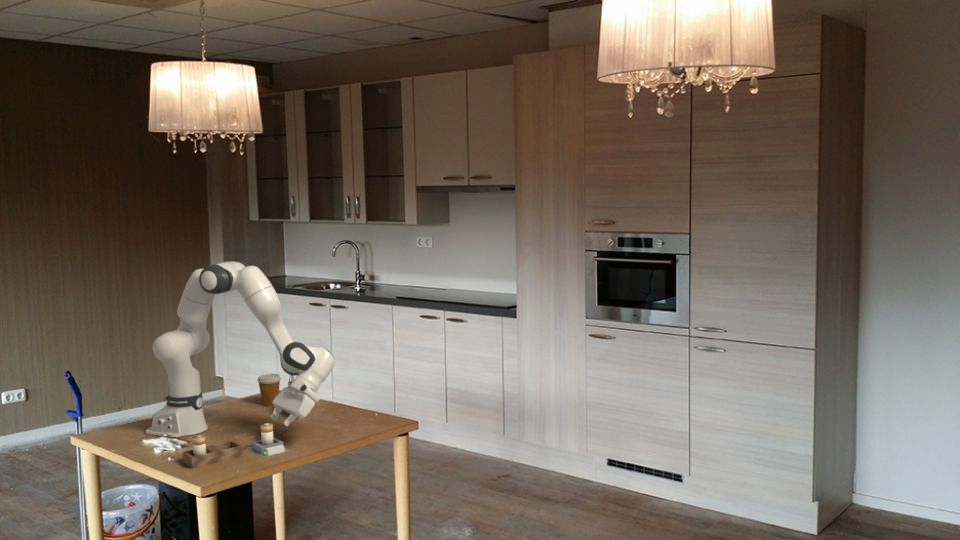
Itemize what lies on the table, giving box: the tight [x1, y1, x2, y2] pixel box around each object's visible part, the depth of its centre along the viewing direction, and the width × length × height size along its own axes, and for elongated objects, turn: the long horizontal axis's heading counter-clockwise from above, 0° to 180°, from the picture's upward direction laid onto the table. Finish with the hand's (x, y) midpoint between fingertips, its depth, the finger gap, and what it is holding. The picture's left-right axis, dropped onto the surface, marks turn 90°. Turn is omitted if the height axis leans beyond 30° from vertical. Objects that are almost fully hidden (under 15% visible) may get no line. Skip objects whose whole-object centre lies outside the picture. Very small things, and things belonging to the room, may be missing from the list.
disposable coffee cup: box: [256, 373, 282, 407], centre depth 353 cm, size 10×10×12 cm
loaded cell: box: [192, 434, 207, 456], centre depth 278 cm, size 4×4×9 cm
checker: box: [246, 436, 291, 458], centre depth 290 cm, size 10×14×4 cm
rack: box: [182, 440, 245, 469], centre depth 282 cm, size 18×8×4 cm, turn 129°
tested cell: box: [260, 422, 274, 446], centre depth 290 cm, size 4×4×9 cm
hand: (278, 422), depth 292 cm, fingers open, 8 cm apart
